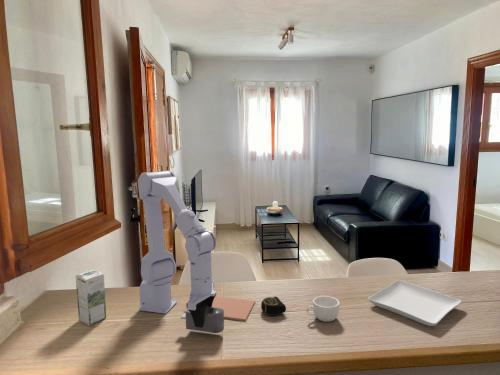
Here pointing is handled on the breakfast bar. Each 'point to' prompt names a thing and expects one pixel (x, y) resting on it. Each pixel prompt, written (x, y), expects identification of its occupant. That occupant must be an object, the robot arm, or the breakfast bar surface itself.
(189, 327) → the grey round-top block
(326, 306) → the teacup
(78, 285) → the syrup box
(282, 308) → the tape measure
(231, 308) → the rubber mat
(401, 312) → the salad plate
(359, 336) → the breakfast bar surface
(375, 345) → the breakfast bar surface
